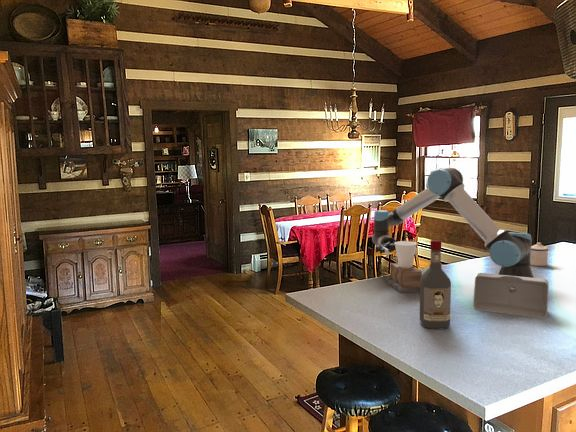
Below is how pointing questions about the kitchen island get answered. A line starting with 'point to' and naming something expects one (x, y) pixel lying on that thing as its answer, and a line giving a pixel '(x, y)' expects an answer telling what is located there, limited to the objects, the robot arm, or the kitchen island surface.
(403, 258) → the cup
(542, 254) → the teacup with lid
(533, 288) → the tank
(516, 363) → the kitchen island surface
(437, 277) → the liquor
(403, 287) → the brown rectangular block
